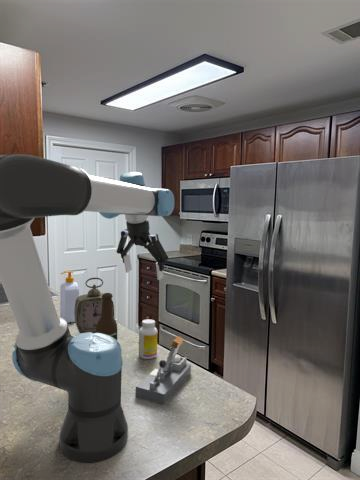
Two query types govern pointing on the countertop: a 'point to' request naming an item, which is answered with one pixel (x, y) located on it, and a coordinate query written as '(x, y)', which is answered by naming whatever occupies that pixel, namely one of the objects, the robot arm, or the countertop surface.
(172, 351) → the paddle lever
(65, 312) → the soap bottle
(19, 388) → the countertop surface
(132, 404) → the countertop surface
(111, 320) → the beer bottle
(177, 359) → the push button
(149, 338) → the supplement bottle
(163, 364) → the toggle switch
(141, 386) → the switch panel
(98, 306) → the tabletop clock
